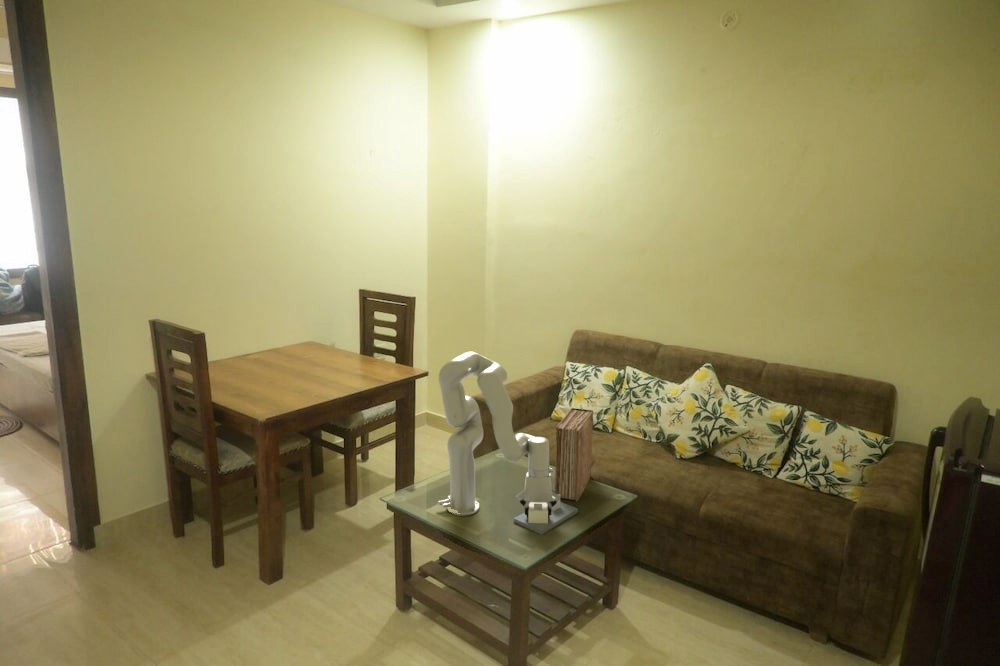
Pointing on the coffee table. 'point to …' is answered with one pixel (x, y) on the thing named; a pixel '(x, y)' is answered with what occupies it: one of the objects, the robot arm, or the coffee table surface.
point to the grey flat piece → (557, 516)
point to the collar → (538, 513)
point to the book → (573, 453)
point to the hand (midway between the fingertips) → (538, 516)
